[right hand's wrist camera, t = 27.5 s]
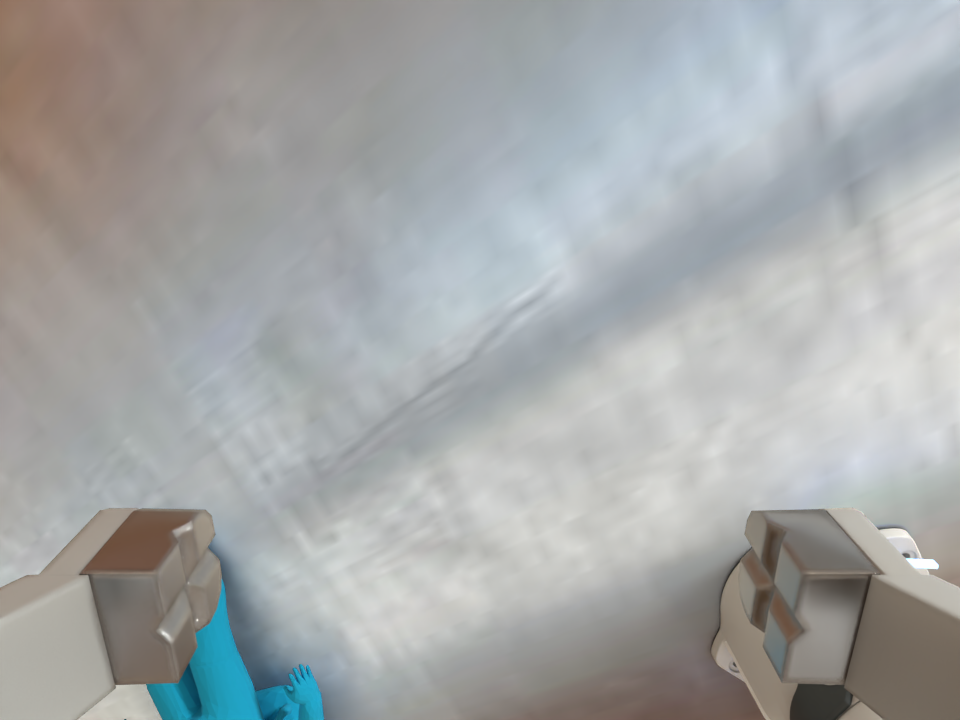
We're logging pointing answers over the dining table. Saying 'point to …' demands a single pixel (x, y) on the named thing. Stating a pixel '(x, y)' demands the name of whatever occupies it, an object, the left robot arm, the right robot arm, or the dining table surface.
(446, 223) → the dining table surface
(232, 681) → the toy
